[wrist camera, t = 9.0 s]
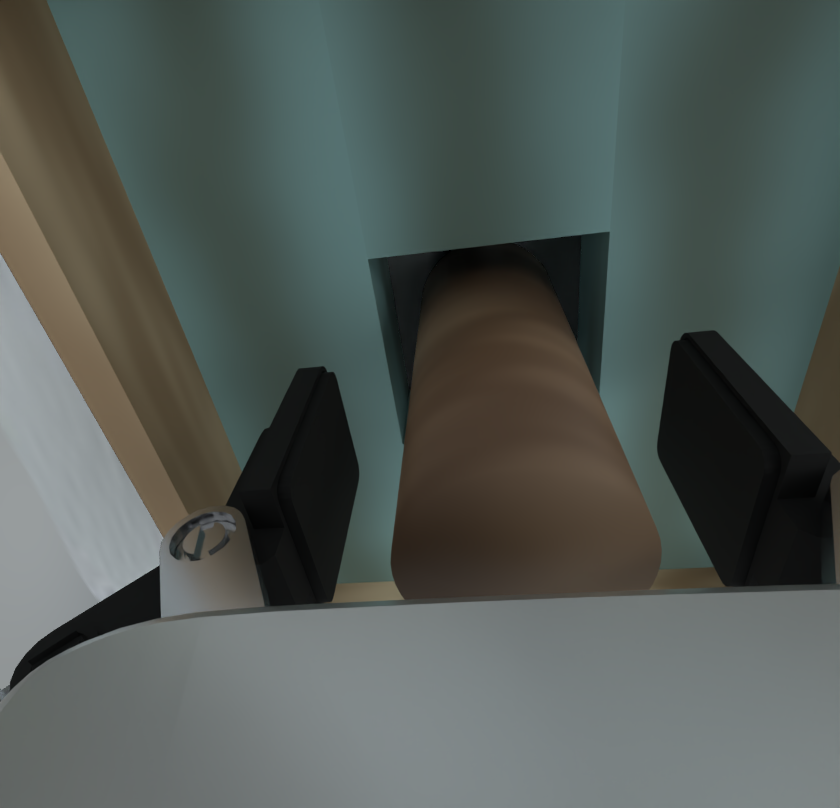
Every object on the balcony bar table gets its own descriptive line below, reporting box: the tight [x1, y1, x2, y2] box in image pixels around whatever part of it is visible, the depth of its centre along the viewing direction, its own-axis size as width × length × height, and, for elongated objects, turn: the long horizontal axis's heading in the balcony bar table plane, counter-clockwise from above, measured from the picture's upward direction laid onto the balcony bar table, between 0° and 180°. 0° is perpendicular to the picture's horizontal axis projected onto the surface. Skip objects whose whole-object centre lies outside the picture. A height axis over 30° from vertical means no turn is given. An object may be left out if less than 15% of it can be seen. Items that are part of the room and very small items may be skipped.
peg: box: [390, 243, 662, 600], centre depth 12 cm, size 4×4×10 cm
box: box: [0, 0, 840, 603], centre depth 14 cm, size 18×20×6 cm
